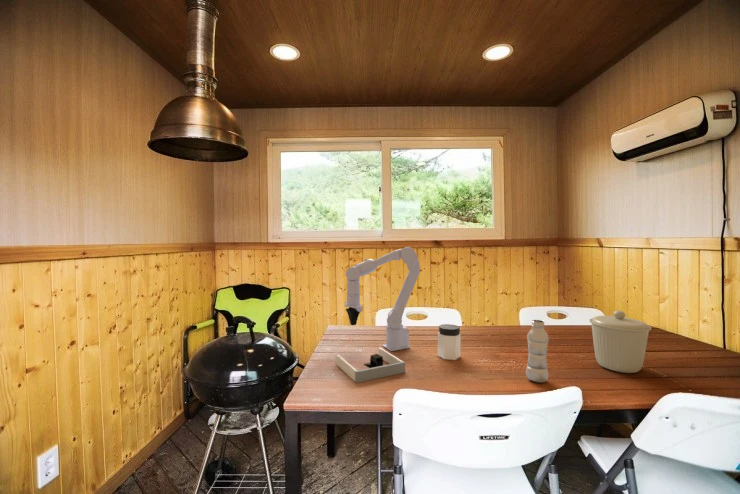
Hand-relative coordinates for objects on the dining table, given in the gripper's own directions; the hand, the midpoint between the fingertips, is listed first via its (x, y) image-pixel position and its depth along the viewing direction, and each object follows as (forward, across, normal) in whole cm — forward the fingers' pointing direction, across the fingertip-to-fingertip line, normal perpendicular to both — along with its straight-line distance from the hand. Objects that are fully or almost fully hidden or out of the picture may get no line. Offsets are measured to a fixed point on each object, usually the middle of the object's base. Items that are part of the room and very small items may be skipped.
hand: (353, 324), depth 144 cm
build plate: (+10, +25, -2) cm, 27 cm away
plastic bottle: (+10, +60, +40) cm, 73 cm away
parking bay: (+9, +25, -5) cm, 27 cm away
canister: (+10, +66, +77) cm, 102 cm away
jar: (+10, +29, +29) cm, 42 cm away
